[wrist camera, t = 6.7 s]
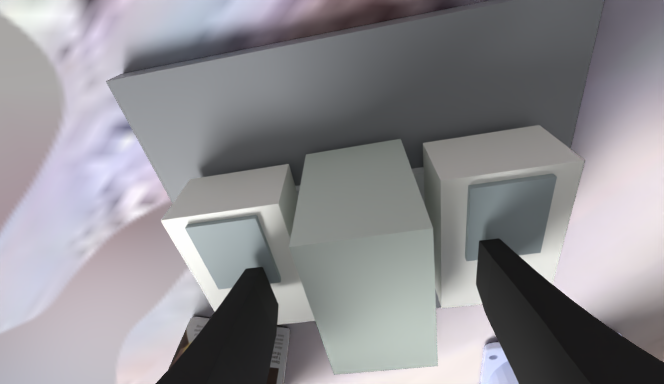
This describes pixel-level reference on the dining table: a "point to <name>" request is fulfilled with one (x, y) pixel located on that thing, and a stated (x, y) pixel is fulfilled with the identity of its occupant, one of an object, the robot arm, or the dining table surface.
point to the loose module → (367, 258)
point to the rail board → (374, 136)
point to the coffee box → (278, 357)
